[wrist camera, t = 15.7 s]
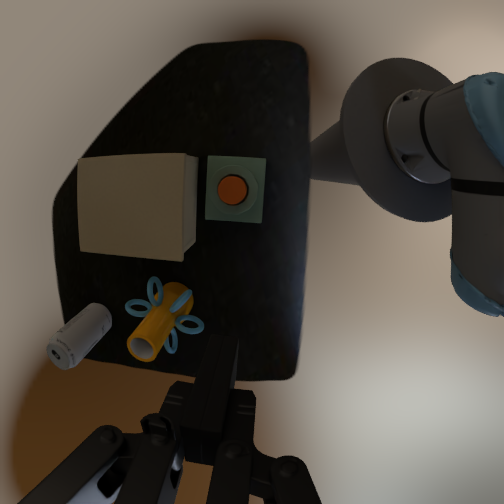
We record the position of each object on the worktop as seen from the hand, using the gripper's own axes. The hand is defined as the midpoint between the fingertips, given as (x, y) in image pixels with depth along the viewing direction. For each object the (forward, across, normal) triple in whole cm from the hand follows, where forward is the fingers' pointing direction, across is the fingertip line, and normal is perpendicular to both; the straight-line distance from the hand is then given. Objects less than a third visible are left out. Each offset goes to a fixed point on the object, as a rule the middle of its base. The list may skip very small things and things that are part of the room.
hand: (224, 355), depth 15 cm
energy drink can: (+28, -28, -17) cm, 43 cm away
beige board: (+19, -15, +5) cm, 25 cm away
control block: (+28, -3, +7) cm, 29 cm away
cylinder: (+28, -12, -11) cm, 32 cm away
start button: (+25, -3, +7) cm, 26 cm away
